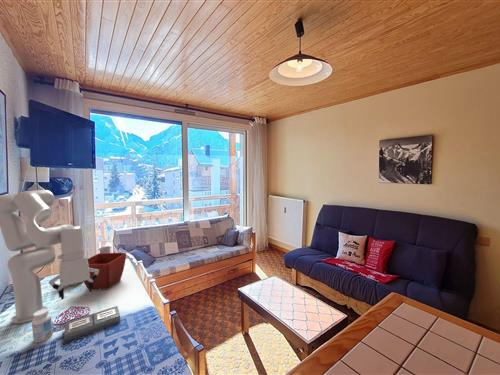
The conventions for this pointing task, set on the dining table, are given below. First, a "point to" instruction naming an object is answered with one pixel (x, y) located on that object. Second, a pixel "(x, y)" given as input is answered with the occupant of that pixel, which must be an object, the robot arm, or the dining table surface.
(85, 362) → the dining table surface
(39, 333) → the pill bottle
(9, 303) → the dining table surface
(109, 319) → the panel
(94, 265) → the plant pot
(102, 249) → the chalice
